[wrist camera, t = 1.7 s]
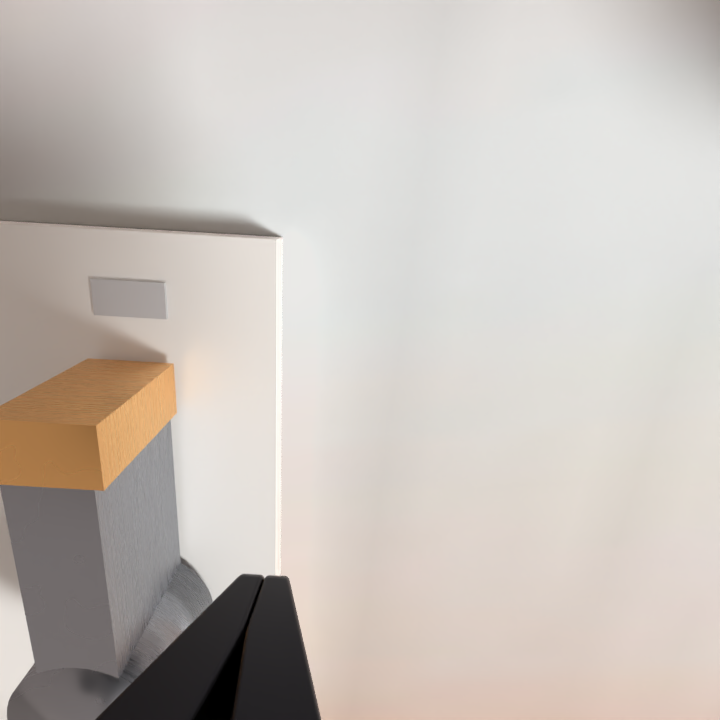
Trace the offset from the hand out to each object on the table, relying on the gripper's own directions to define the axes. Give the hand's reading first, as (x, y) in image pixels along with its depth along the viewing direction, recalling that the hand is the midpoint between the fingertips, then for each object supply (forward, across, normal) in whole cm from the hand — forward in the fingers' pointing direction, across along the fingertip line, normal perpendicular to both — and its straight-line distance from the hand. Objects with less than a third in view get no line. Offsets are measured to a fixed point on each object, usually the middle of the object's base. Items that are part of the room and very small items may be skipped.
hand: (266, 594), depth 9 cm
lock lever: (+6, +5, +3) cm, 8 cm away
